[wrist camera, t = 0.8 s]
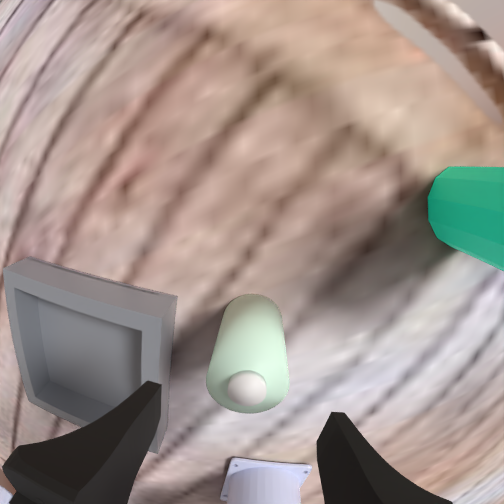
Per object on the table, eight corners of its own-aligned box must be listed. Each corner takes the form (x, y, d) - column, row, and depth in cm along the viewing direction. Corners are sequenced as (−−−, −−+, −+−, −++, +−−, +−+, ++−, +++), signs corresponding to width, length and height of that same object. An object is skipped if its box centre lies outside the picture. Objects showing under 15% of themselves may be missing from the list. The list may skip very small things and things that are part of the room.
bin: (167, 426, 23) (157, 454, 20) (46, 382, 23) (28, 401, 20) (177, 296, 20) (161, 318, 17) (30, 256, 20) (3, 268, 17)
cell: (274, 350, 21) (278, 425, 13) (219, 340, 21) (200, 413, 13) (287, 300, 20) (300, 365, 13) (228, 288, 20) (209, 350, 12)
